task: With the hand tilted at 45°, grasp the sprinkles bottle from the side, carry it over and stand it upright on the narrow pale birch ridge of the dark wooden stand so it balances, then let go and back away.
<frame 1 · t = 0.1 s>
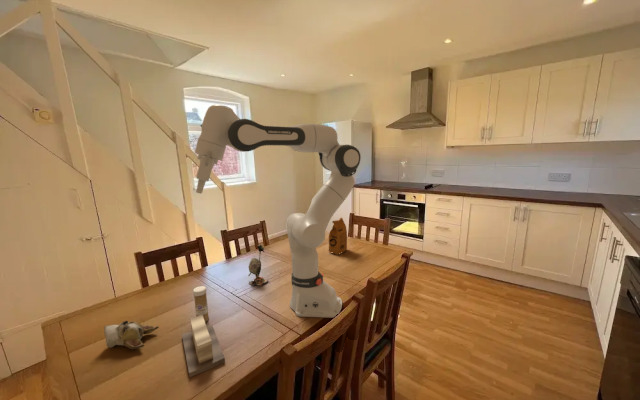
hand: (199, 191, 87), 52 cm above the table, fingers open, 8 cm apart
ceramic sculpture: (130, 343, 89), on the table
coffee package: (337, 251, 170), on the table
sprinkles bottle: (203, 320, 100), on the table
bird figurine: (257, 282, 130), on the table
ridge stand: (202, 349, 85), on the table
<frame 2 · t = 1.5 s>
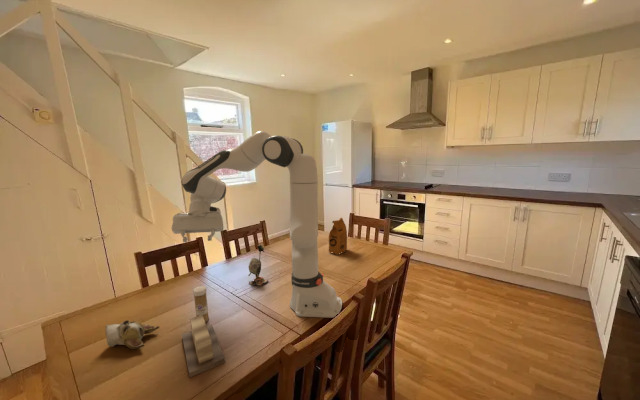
hand: (197, 240, 106), 29 cm above the table, fingers open, 8 cm apart
nothing on the table moved.
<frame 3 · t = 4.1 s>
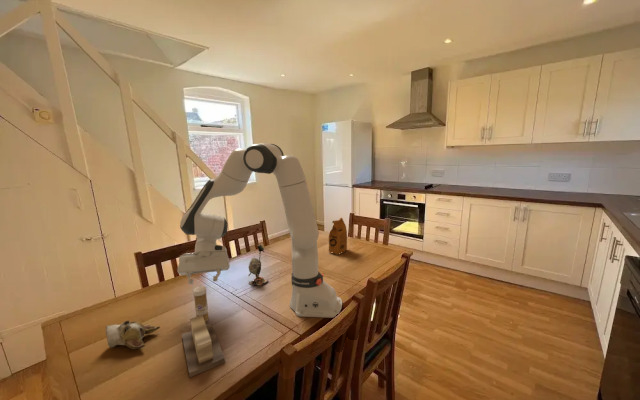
hand: (203, 282, 104), 13 cm above the table, fingers open, 8 cm apart
nothing on the table moved.
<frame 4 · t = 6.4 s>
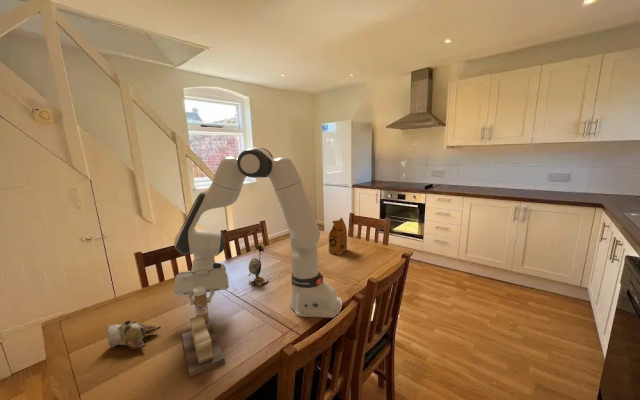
hand: (200, 303, 99), 7 cm above the table, fingers closed on sprinkles bottle, 4 cm apart
sprinkles bottle: (203, 320, 100), on the table, touching gripper
everything else where it was.
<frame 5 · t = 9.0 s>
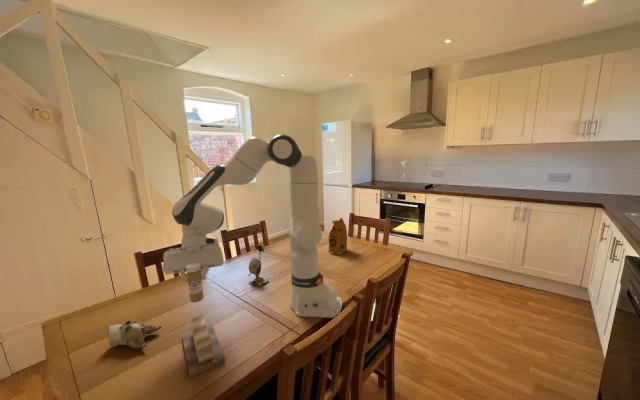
hand: (194, 281, 91), 20 cm above the table, fingers closed on sprinkles bottle, 4 cm apart
sprinkles bottle: (197, 300, 92), point 12 cm above the table, touching gripper
everything else where it was.
when the fingers open (16 cm above the table, at t = 12.0 s): sprinkles bottle stays where it is, resting on ridge stand.
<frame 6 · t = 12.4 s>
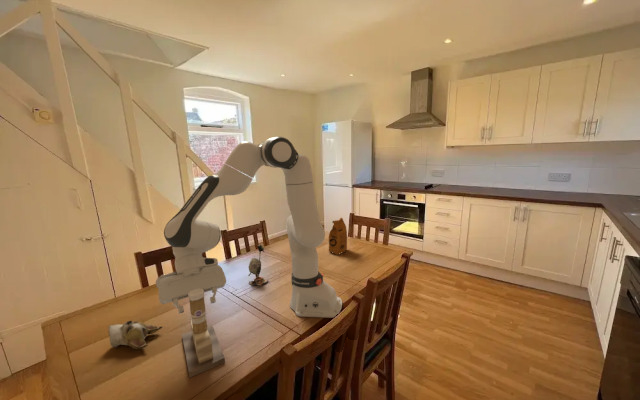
hand: (197, 307, 82), 16 cm above the table, fingers open, 8 cm apart
sprinkles bottle: (200, 329, 84), point 7 cm above the table, touching ridge stand
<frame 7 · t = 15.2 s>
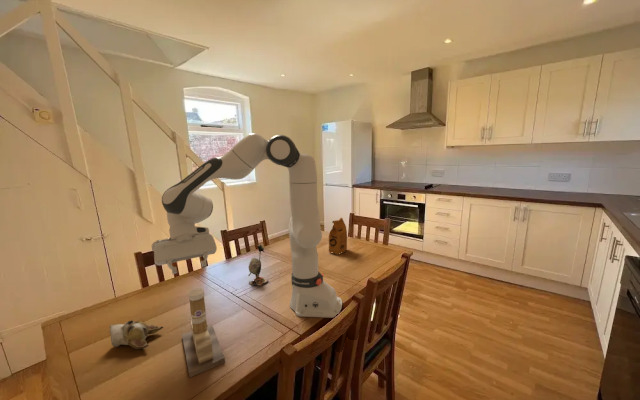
hand: (189, 269, 90), 24 cm above the table, fingers open, 8 cm apart
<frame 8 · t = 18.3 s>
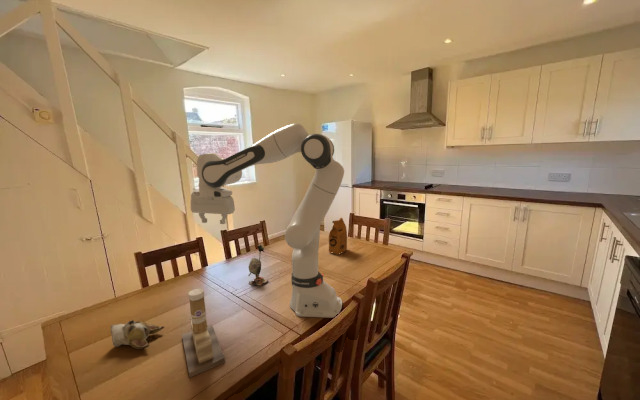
hand: (213, 223, 111), 35 cm above the table, fingers open, 8 cm apart
at the end: sprinkles bottle 0.1 cm off-centre on the ridge stand, point 7.3 cm above the ridge stand's base; sprinkles bottle tilted 0°; the gripper is holding nothing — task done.
